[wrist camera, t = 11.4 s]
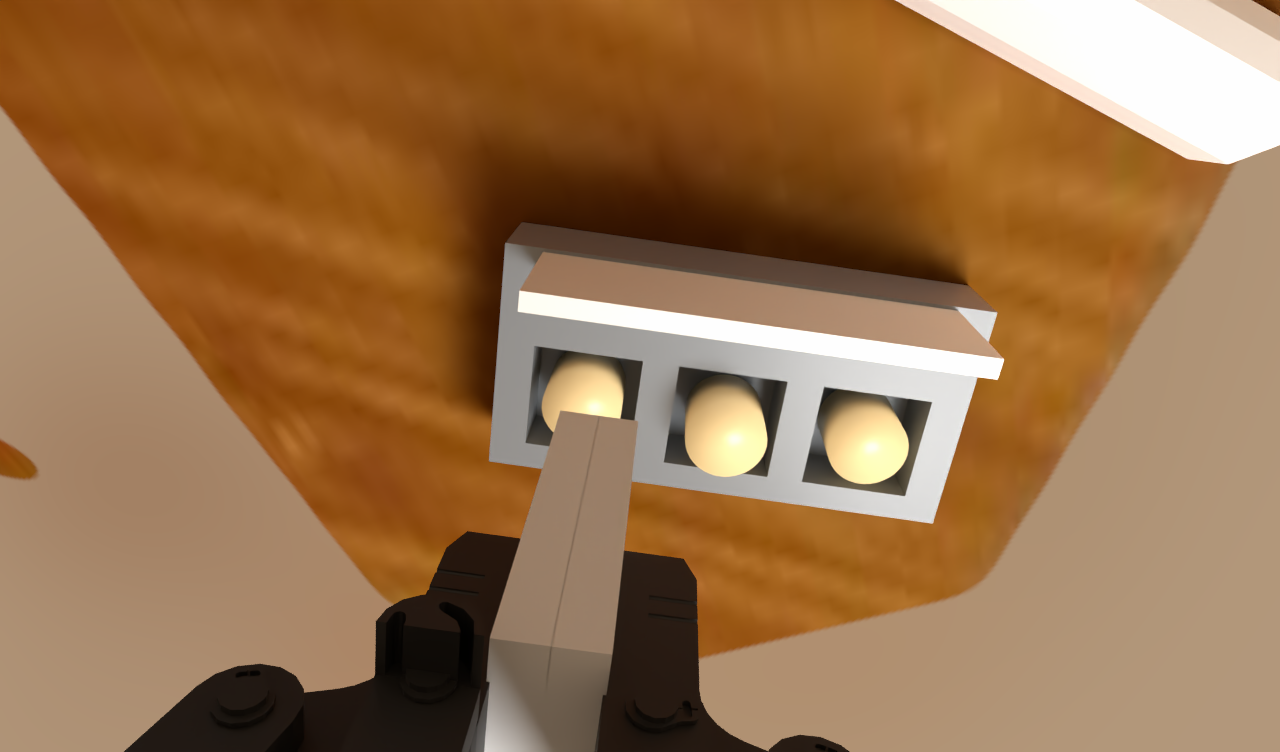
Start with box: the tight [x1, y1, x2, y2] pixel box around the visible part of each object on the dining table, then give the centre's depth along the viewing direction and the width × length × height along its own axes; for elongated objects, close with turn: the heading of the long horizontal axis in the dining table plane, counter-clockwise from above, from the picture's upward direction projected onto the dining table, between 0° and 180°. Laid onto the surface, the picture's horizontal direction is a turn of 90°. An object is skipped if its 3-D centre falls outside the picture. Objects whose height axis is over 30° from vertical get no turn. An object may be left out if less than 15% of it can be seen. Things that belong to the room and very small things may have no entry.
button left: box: [542, 351, 626, 433], centre depth 50 cm, size 4×4×4 cm
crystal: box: [896, 0, 1280, 164], centre depth 42 cm, size 7×7×24 cm
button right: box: [818, 389, 909, 484], centre depth 50 cm, size 4×4×4 cm
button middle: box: [685, 375, 767, 477], centre depth 48 cm, size 4×4×4 cm
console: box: [489, 222, 1004, 523], centre depth 47 cm, size 26×13×12 cm, turn 82°
